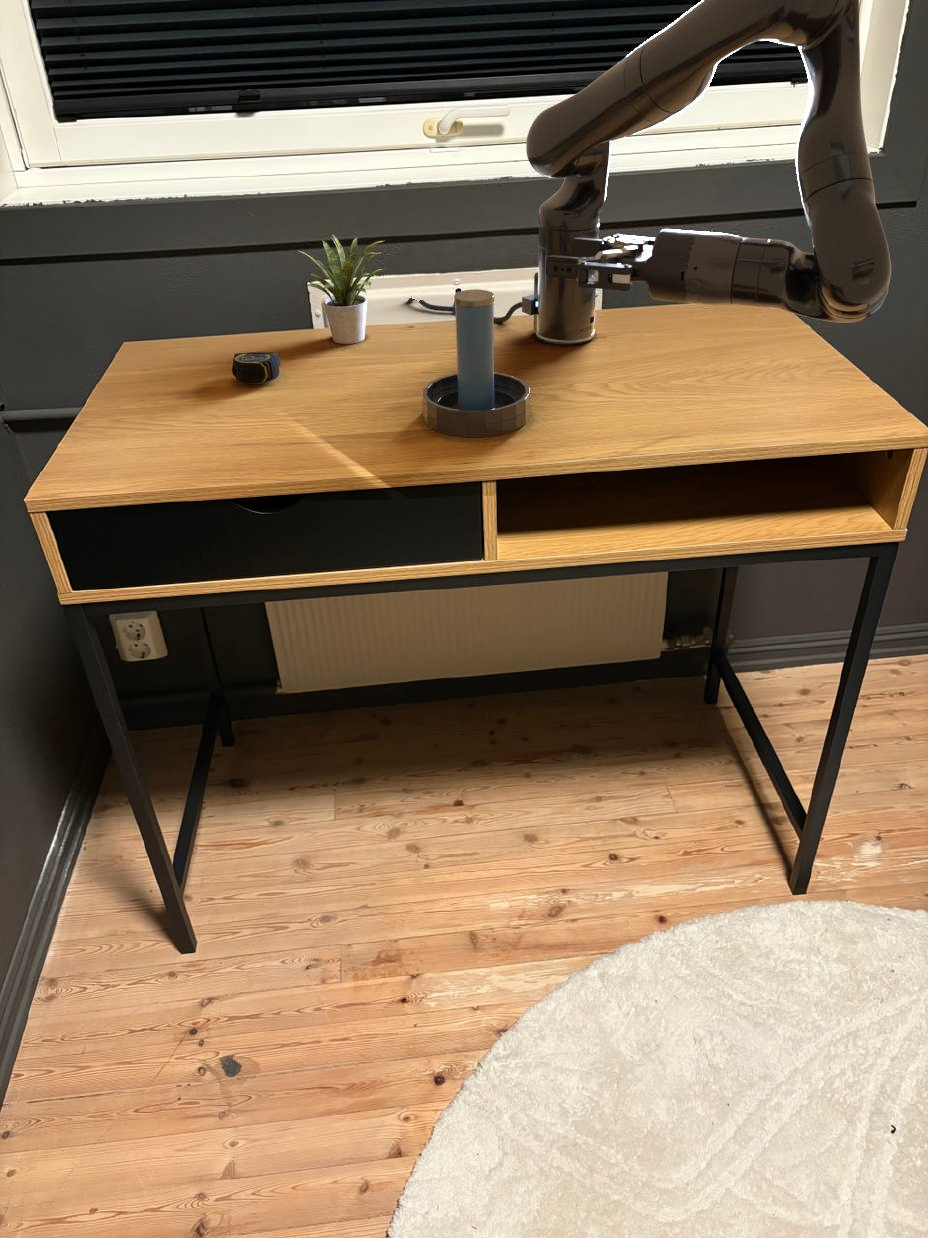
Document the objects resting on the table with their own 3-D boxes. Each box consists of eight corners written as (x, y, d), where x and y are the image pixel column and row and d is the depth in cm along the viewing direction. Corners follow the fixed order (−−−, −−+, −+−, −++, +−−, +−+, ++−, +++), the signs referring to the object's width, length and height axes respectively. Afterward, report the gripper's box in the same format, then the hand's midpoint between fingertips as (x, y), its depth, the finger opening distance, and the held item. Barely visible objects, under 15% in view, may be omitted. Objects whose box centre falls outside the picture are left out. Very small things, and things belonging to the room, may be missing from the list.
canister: (450, 414, 127) (446, 294, 118) (480, 405, 129) (478, 286, 120) (472, 426, 124) (469, 303, 114) (502, 416, 126) (502, 295, 117)
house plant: (416, 333, 156) (410, 229, 147) (365, 358, 147) (356, 249, 138) (348, 320, 163) (339, 220, 153) (296, 344, 153) (282, 239, 144)
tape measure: (282, 371, 144) (279, 347, 141) (278, 387, 138) (275, 362, 136) (237, 373, 143) (233, 349, 141) (231, 390, 138) (227, 365, 135)
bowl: (404, 415, 128) (402, 387, 126) (487, 390, 135) (487, 363, 132) (464, 450, 119) (463, 421, 116) (551, 422, 125) (551, 393, 123)
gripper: (715, 218, 107) (580, 209, 113) (685, 248, 97) (538, 236, 103) (707, 285, 112) (577, 273, 118) (678, 320, 101) (537, 305, 107)
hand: (559, 256), depth 110 cm, fingers open, 8 cm apart
